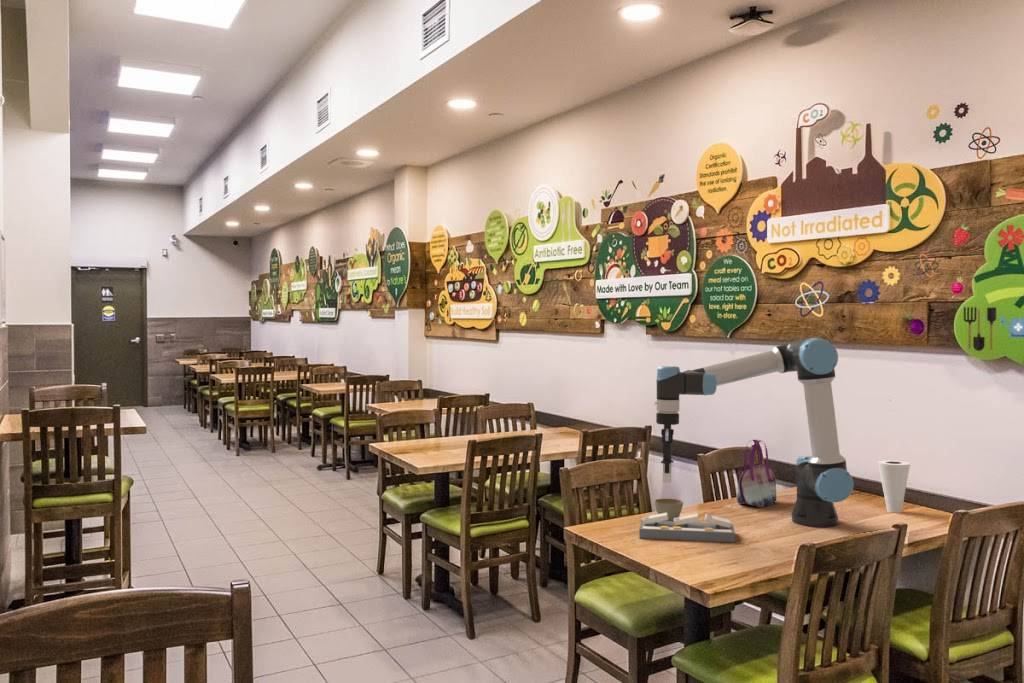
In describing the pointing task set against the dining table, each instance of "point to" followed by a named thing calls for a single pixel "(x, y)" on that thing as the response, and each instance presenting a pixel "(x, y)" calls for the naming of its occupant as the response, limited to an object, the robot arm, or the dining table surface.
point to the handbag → (757, 481)
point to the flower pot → (669, 507)
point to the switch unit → (687, 531)
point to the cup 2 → (894, 483)
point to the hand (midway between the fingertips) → (667, 482)
